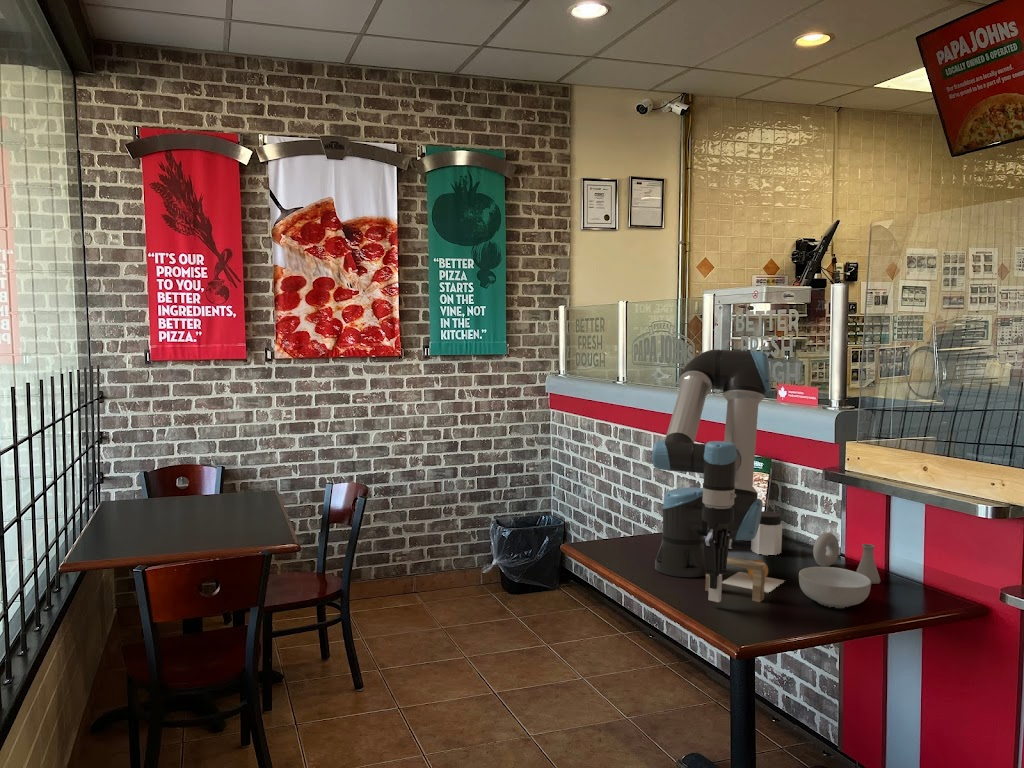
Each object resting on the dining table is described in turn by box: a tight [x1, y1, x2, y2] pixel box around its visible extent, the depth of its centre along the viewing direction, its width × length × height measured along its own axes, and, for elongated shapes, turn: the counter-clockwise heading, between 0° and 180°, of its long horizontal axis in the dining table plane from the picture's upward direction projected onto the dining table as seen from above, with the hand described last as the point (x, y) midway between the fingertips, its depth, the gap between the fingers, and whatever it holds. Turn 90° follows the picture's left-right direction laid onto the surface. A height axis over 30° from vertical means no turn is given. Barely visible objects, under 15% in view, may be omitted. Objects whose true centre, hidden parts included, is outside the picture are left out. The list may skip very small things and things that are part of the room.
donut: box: [812, 532, 840, 567], centre depth 242 cm, size 10×4×10 cm, turn 125°
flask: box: [855, 543, 882, 585], centre depth 229 cm, size 7×7×10 cm
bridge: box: [704, 556, 765, 603], centre depth 214 cm, size 3×14×9 cm, turn 54°
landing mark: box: [722, 571, 786, 594], centre depth 225 cm, size 13×13×1 cm
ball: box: [746, 559, 769, 578], centre depth 227 cm, size 6×6×6 cm
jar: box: [750, 510, 783, 556], centre depth 256 cm, size 9×8×12 cm
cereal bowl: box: [798, 566, 872, 609], centre depth 209 cm, size 17×17×7 cm
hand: (714, 600), depth 203 cm, fingers closed
